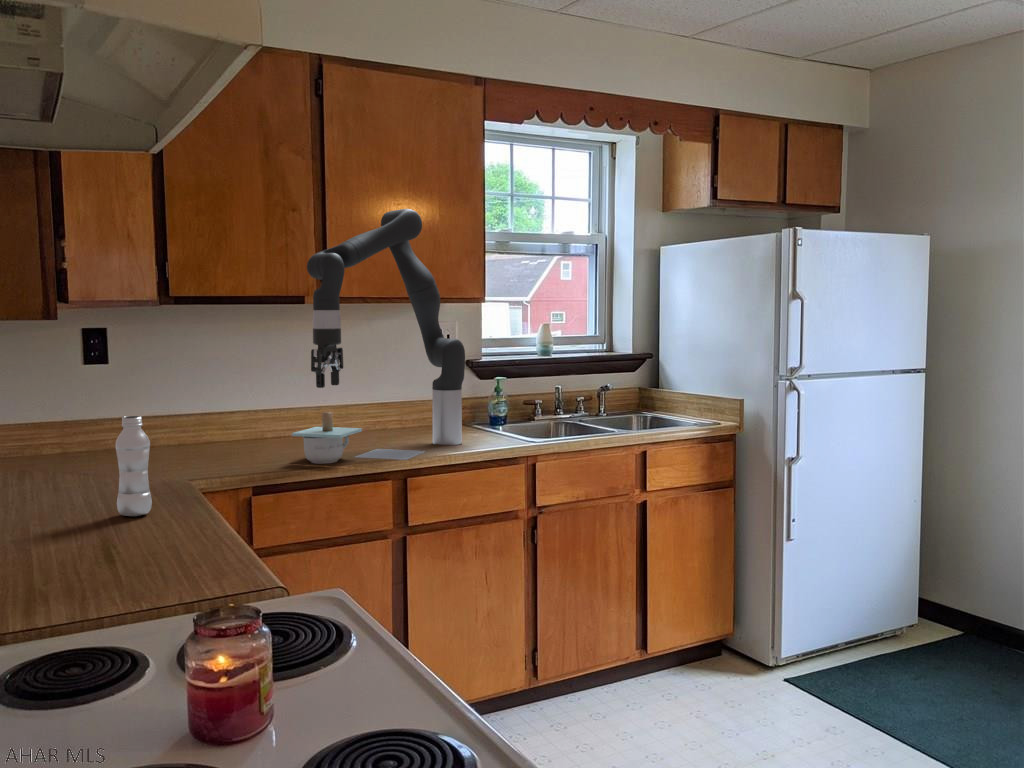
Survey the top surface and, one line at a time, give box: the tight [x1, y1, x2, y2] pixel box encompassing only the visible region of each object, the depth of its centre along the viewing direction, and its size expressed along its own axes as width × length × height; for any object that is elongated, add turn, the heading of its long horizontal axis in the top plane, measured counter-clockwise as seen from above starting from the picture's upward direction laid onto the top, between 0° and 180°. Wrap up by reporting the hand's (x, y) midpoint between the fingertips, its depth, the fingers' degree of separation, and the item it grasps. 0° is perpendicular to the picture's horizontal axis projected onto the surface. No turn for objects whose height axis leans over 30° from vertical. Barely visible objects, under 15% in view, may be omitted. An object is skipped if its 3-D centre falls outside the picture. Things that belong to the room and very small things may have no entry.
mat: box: [354, 448, 427, 461], centre depth 245 cm, size 16×16×1 cm
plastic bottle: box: [114, 415, 153, 517], centre depth 169 cm, size 6×7×20 cm
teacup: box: [302, 435, 350, 465], centre depth 233 cm, size 14×11×8 cm
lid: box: [291, 411, 363, 438], centre depth 233 cm, size 14×14×6 cm
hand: (328, 386), depth 232 cm, fingers open, 8 cm apart
